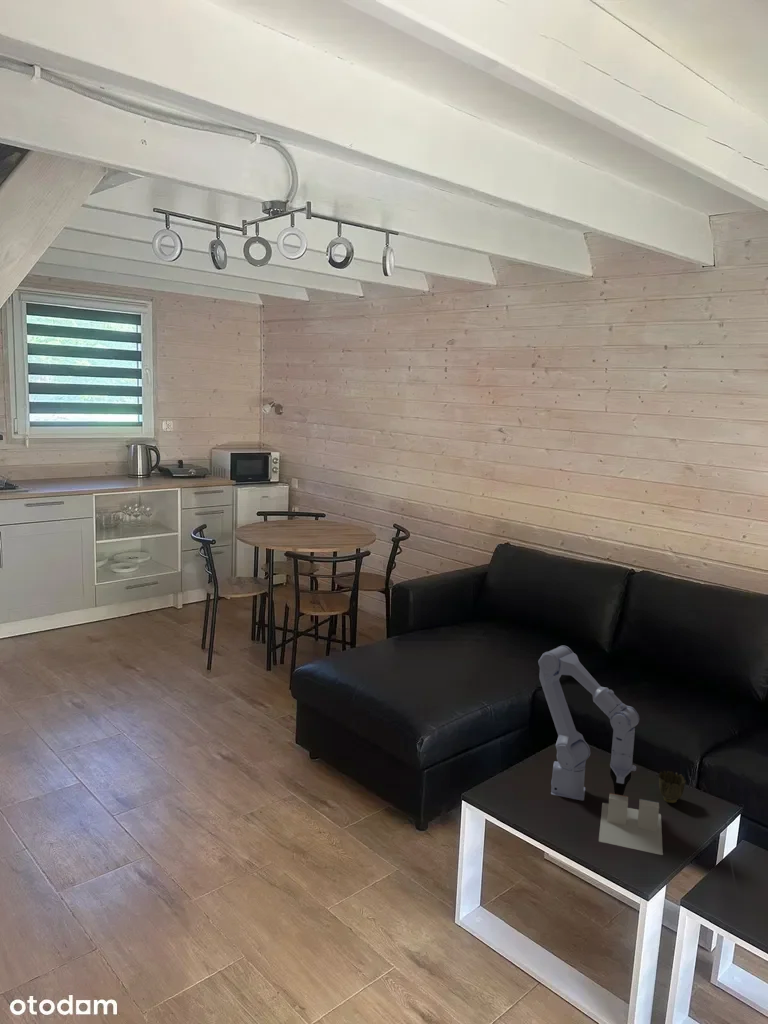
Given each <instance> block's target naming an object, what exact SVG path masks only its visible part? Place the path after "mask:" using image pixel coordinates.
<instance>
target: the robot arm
mask: <svg viewBox="0 0 768 1024" xmlns="http://www.w3.org/2000/svg"><path fill="white" fill-rule="evenodd" d="M537 663H538V666H539V676H538V677H539V682H540V685H541V687H542V691H543V693H544V697H545V700H546V703H547V705H548V709H549V712H550V715H551V718H552V721H553V723H554V724H553V725H554V727H555V730H556V733H557V740H556V743H555V749H556V760H555V761H553V766H552V772H551V773H552V776H551V781H550V785H551V789H550V791H551V792H550V794H551V795H553V796H557V797H563V798H569V799H572V800H576V801H577V800H579V801H585V795H586V787H585V778H586V777H585V775H586V774H585V773H586V762H587V760H588V759H589V757H590V756H591V748H590V746H589V743H588V742H586V740H585V738H584V736H583V734H582V733H580V732H579V731H578V730H577V729H576V725H575V724H574V720H573V717H572V714H571V712H570V708H569V706H568V703H567V700H566V697H565V694H564V691H563V688H562V684H561V682H560V678H561V677H562V676H571V677H572V678H574V679H575V680H576V681H577V682H578V683H579V684H580V685H581V686H582V687H584V689H586V691H587V692H589V693H590V694H591V695H592V701H593V703H594V704H595V705H596V706H597V707H598V708H599V709H600V710H601V712H603V713H604V715H606V716H607V717H608V719H609V723H610V725H611V728H612V731H613V732H612V744H611V754H610V755H611V758H610V762H609V767H610V770H609V771H610V772H609V776H610V778H611V780H612V783H613V792H614V794H618V795H623V796H624V793H625V792H626V791H625V790H626V787H627V784H628V783H629V782H630V780H631V779H632V778H631V777H632V771H633V772H635V771H637V766H636V765H634V764H633V760H634V759H633V758H634V756H633V755H634V746H635V732H636V731H635V730H636V728H635V727H636V726H637V725H638V724H639V723H640V715H639V713H638V712H637V710H636V709H635V708H634V707H633V706H630V705H627V704H625V703H623V701H622V700H621V699H620V698H619V697H618V696H617V695H616V694H615V692H614V690H613V689H609V687H604V686H601V684H600V683H598V681H597V680H596V679H595V678H594V677H593V676H592V675H591V673H590V672H589V671H588V670H587V669H586V667H584V665H583V664H582V663H581V662H580V660H579V657H578V655H577V654H576V653H574V651H573V650H572V648H570V647H569V646H567V645H560V646H559V645H558V646H557V647H556V648H553V649H550V650H549V651H545V652H543V653H542V655H541V656H540V658H539V659H538V661H537Z"/></svg>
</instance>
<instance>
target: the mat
mask: <svg viewBox="0 0 768 1024" xmlns="http://www.w3.org/2000/svg"><path fill="white" fill-rule="evenodd" d="M608 806H609V803H608V802H602V804H601V814H600V815H601V816H600V826H599V831H598V832H599V834H598V842H599V843H603V844H609V845H613V846H617V847H623V848H627V849H632V850H637V851H641V852H646V853H649V854H655V855H658V856H659V855H660V856H663V855H664V853H663V834H662V832H663V831H662V829H663V828H662V814H661V813H659V814H658V825H657V832H656V831H651V830H646V829H641V828H638V812H639V809H637V808H632V807H628V809H627V821H626V825H622V824H617V823H612V822H608V821H607V818H608Z"/></svg>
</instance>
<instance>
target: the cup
mask: <svg viewBox="0 0 768 1024" xmlns="http://www.w3.org/2000/svg"><path fill="white" fill-rule="evenodd" d="M686 782H687V779H685V776H683V774H682V773H681V774H679V773H678V772H675V773H674V771H670V770H667V771H666V770H663V772H662V771H659V773H658V789H659V792H660V794H661V796H662V797H663V801H664V802H666V803H668V804H676V803H677V802H678V801H677V800H679V799H681V798H682V796H683V793H684V791H685V787H686Z"/></svg>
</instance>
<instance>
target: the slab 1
mask: <svg viewBox="0 0 768 1024" xmlns="http://www.w3.org/2000/svg"><path fill="white" fill-rule="evenodd" d="M608 795H609V796H608V804H609V806H608V818H607V821H608V822H612V823H617V824H622V825H626V821H627V809H628V808H629V795H624V794H623V795H618V794H615V793H613V792H609V794H608Z"/></svg>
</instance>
